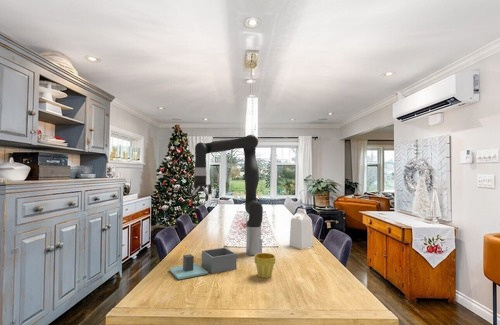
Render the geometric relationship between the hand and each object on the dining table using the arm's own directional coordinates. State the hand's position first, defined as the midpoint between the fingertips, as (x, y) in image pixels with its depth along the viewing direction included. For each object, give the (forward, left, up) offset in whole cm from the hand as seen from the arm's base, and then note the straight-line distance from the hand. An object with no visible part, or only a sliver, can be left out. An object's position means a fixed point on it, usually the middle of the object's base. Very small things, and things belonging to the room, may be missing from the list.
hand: (199, 201), depth 169 cm
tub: (-2, +25, -33) cm, 42 cm away
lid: (+15, +25, -33) cm, 44 cm away
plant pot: (-17, +47, -33) cm, 60 cm away
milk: (-71, +13, -33) cm, 79 cm away
